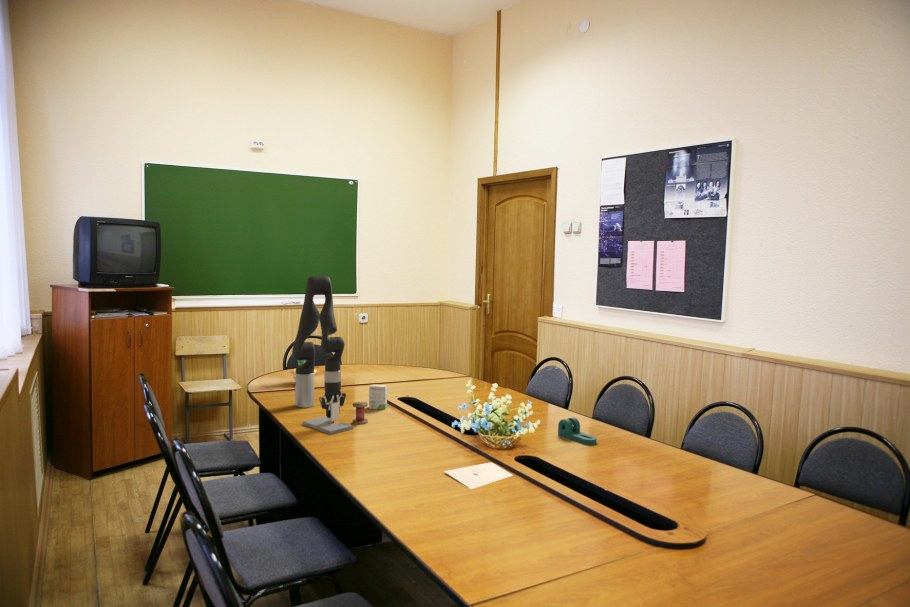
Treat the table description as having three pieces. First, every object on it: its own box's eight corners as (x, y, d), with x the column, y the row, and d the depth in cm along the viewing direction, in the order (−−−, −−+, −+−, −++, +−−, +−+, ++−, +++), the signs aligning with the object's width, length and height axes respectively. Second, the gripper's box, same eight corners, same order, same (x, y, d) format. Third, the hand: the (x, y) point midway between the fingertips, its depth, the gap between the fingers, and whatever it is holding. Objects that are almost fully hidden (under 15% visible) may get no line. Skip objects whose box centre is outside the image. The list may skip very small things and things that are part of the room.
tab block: (326, 419, 276) (326, 402, 275) (334, 417, 279) (333, 400, 278) (332, 421, 273) (332, 403, 273) (339, 419, 276) (339, 402, 276)
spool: (349, 422, 282) (349, 403, 281) (361, 419, 287) (361, 400, 286) (358, 425, 277) (358, 406, 276) (370, 422, 282) (370, 403, 281)
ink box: (368, 409, 306) (368, 386, 305) (371, 406, 311) (371, 384, 310) (385, 409, 305) (385, 386, 304) (387, 407, 310) (387, 384, 309)
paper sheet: (497, 463, 231) (497, 460, 231) (539, 493, 205) (539, 490, 205) (441, 471, 220) (441, 468, 220) (478, 504, 195) (478, 501, 194)
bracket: (557, 435, 267) (558, 418, 267) (568, 432, 271) (568, 415, 271) (589, 446, 253) (589, 427, 252) (599, 443, 257) (600, 425, 256)
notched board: (302, 424, 277) (302, 421, 277) (324, 419, 286) (324, 416, 286) (331, 434, 262) (331, 431, 262) (352, 428, 271) (352, 425, 271)
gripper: (340, 376, 282) (340, 412, 284) (314, 381, 272) (315, 418, 273) (350, 379, 277) (350, 415, 279) (324, 383, 267) (324, 421, 268)
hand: (332, 416), depth 276 cm, fingers closed on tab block, 4 cm apart
